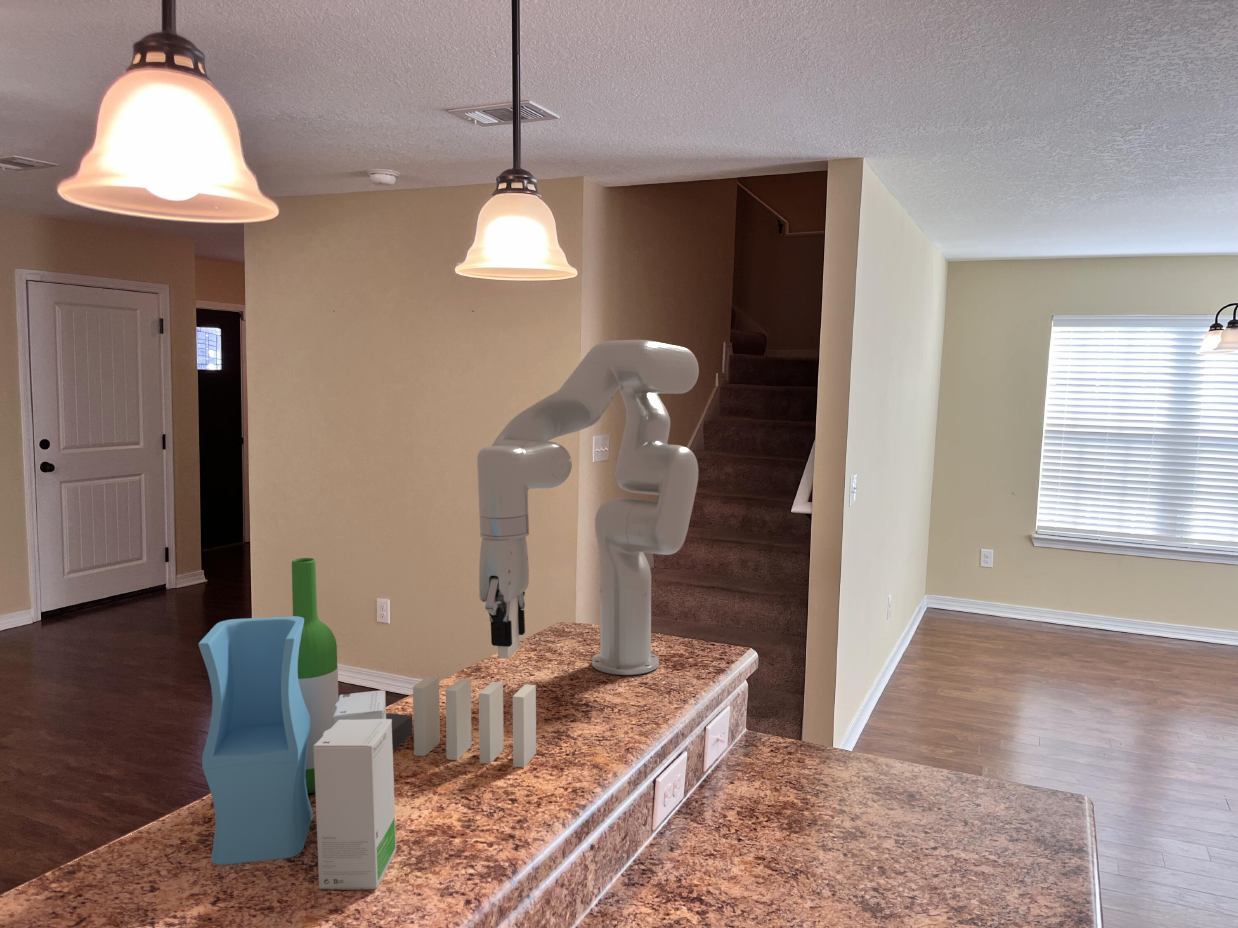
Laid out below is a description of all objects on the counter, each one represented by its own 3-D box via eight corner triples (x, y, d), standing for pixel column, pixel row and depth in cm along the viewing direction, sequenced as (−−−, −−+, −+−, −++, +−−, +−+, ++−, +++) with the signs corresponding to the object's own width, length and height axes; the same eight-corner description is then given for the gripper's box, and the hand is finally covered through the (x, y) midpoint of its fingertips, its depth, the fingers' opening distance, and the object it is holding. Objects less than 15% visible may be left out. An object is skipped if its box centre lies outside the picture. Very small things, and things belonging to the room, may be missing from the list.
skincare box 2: (376, 891, 91) (372, 747, 90) (313, 890, 91) (308, 746, 90) (398, 849, 100) (395, 716, 98) (340, 848, 100) (336, 715, 98)
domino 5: (513, 766, 121) (512, 696, 120) (525, 751, 126) (525, 684, 125) (524, 767, 121) (523, 697, 120) (536, 752, 126) (535, 685, 125)
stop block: (388, 732, 133) (388, 712, 133) (412, 734, 132) (412, 715, 132) (360, 753, 125) (360, 733, 125) (386, 756, 124) (385, 735, 124)
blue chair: (206, 866, 96) (197, 643, 94) (227, 822, 105) (219, 619, 103) (301, 856, 98) (294, 638, 96) (313, 814, 108) (307, 615, 105)
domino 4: (498, 657, 136) (496, 594, 134) (510, 647, 140) (507, 586, 139) (508, 658, 135) (505, 595, 134) (519, 647, 140) (517, 586, 139)
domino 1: (414, 754, 125) (413, 686, 124) (430, 741, 130) (428, 675, 129) (424, 756, 124) (423, 687, 124) (439, 742, 129) (438, 676, 128)
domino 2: (446, 758, 124) (445, 689, 123) (461, 744, 128) (460, 678, 128) (457, 759, 123) (456, 690, 122) (471, 745, 128) (470, 679, 127)
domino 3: (479, 762, 122) (478, 692, 122) (493, 748, 127) (492, 681, 126) (490, 763, 122) (489, 693, 121) (503, 749, 127) (502, 682, 126)
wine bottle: (337, 793, 113) (331, 564, 110) (273, 799, 111) (265, 567, 109) (343, 767, 121) (338, 553, 118) (284, 772, 119) (277, 555, 116)
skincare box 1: (388, 834, 103) (386, 711, 102) (334, 839, 102) (331, 715, 100) (390, 801, 111) (388, 687, 110) (340, 806, 110) (337, 690, 108)
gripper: (501, 515, 144) (505, 622, 147) (458, 536, 128) (464, 656, 130) (545, 516, 143) (548, 624, 145) (507, 538, 126) (511, 659, 128)
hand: (508, 638), depth 138 cm, fingers closed on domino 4, 4 cm apart
